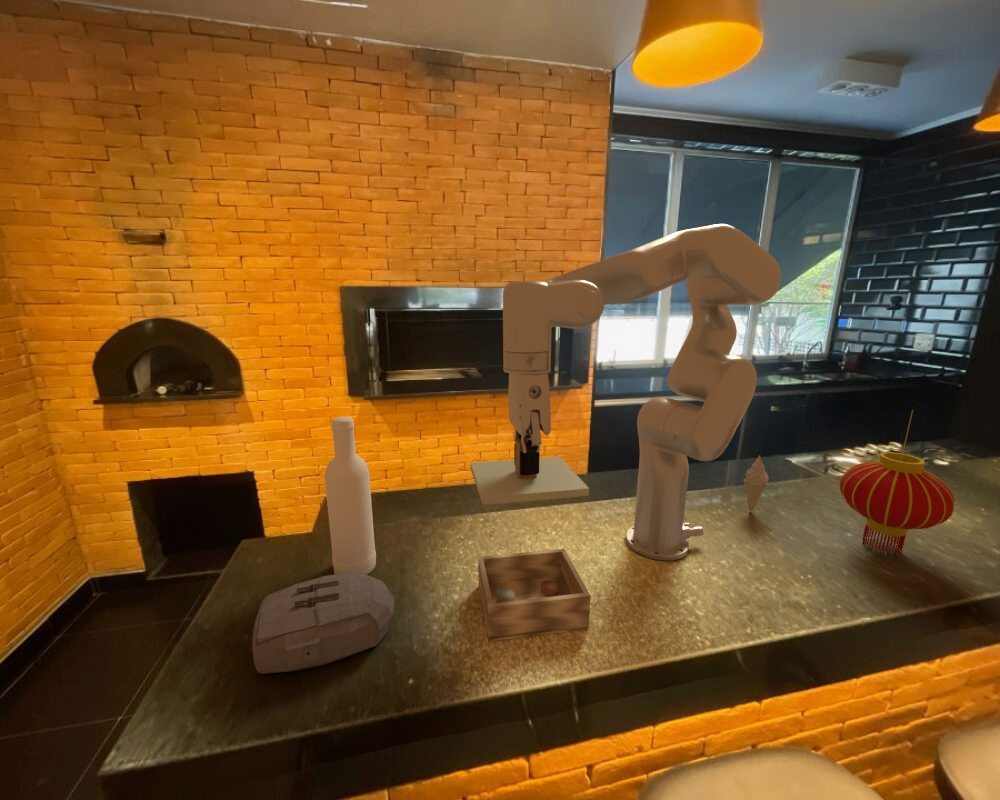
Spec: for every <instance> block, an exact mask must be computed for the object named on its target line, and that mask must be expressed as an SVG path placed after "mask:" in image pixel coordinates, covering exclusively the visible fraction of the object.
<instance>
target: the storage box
mask: <svg viewBox="0 0 1000 800" xmlns="http://www.w3.org/2000/svg"><path fill="white" fill-rule="evenodd" d="M477 560H478V561H477V566H478V569H477V571H478V576H477V577H478V589H479V597H480V602H481V608H482V612H483V613H482V614H483V618H484V619H483V620H484V624H485V630H486V635H487V640H488V643H489V642H496V641H497V642H499V641H505V640H513V639H521V638H527V637H535V636H543V635H551V634H557V633H558V634H559V633H566V632H573V631H574V632H575V631H580V630H581V631H582V630H589V629H590V627H589V626H590V612H591V611H590V609H591V594H590V592H589V591H588V588H587V587H586V585H585V583H584V581H583V580H582V578H581V576H580V575H579V572H578V570H577V569H576V567H575V565H574V563H573V561H572V559H571V558H570V556H569V554H568V552H567V551H566V549H565V548H556V549H548V550H537V551H536V550H535V551H528V552H527V551H526V552H515V553H506V554H495V555H486V556H485V555H484V556H478V559H477Z"/></svg>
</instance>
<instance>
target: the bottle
mask: <svg viewBox="0 0 1000 800" xmlns="http://www.w3.org/2000/svg"><path fill="white" fill-rule="evenodd" d="M330 430H331V431H332V437H333V438H332V439H333V449H334V450H333V451H334V457H333V458H332V459H331V460H330V461H329V462H328V463H327V465H326V468H325V471H324V472H325V473H324V485H325V492H326V493H325V495H326V503H327V514H328V525H329V532H330V544H331V555H332V556H331V560H332V561H331V562H332V568H333V575H335V574H343V573H359V574H366V575H368V574H371V572H372V571H373V570H374V569H375V568H376V564H377V560H376V559H377V553H376V548H375V547H376V545H375V534H374V533H375V532H374V519H373V518H374V517H373V516H374V515H373V508H372V507H373V506H372V505H373V503H372V491H371V490H372V489H371V481H370V480H371V479H370V470H369V468H368V465H367V463H366V461H365V459H364V458H362V457H361V456H360V455H358V454H357V452H356V451H357V450H356V439H355V438H356V437H355V423H354V419H353V418H352V417H351V416H338V417H335V418H333V419H331V429H330Z"/></svg>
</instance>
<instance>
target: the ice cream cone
mask: <svg viewBox="0 0 1000 800" xmlns="http://www.w3.org/2000/svg"><path fill="white" fill-rule="evenodd" d="M744 476H745V478H743V479H742V480H743V483H744V484H743V485H744V488H745V489H744V490H745V495H746V501H747V506H748V511H749V510H750V511H752V512H754V510H755V507H756V506H757V505H758V502H759V500H760V498H761V496H762V495H763V493H764V490H765V489H766V487H767V486H768V482H769V474H768V472H766V471H765V465H764V464H763V460H762V458H761V454H759V455H758V457H757V458H756V459H755V461H754V462H753V463H752V465H751V468H749V469H748V470H746V473H745V475H744Z"/></svg>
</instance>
